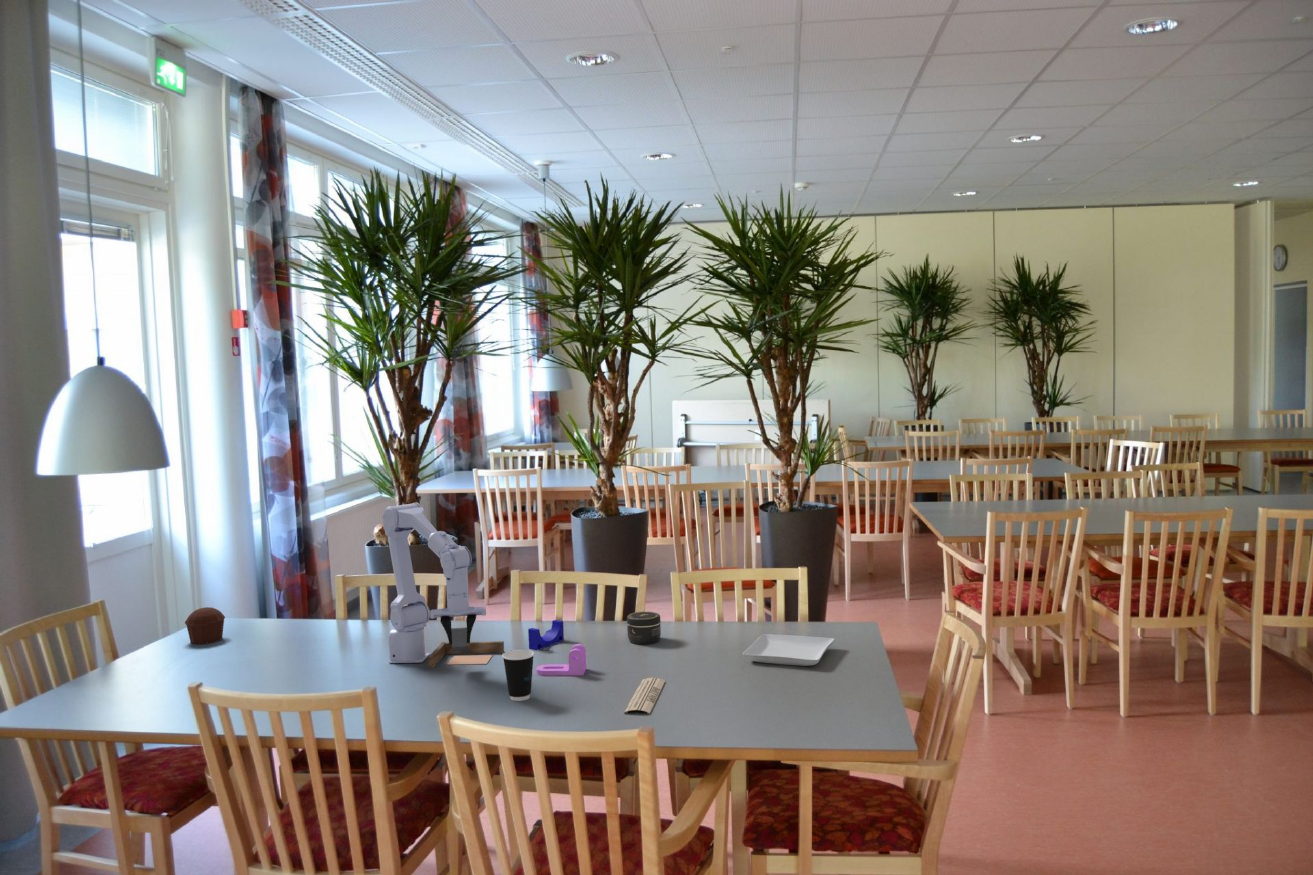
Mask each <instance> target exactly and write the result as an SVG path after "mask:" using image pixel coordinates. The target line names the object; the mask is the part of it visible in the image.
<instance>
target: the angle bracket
mask: <svg viewBox="0 0 1313 875" xmlns="http://www.w3.org/2000/svg"><path fill="white" fill-rule="evenodd" d="M451 634H452V652H455V651H468V647H469V643H467V626H466V627H465V626H464V627H454V628H453V627H451Z"/></svg>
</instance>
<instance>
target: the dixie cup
mask: <svg viewBox="0 0 1313 875" xmlns="http://www.w3.org/2000/svg"><path fill="white" fill-rule="evenodd" d="M534 656H535V651H534V650H532V649H513V650H509V651H504V652H503V653H502V655H501V657H502V659H503V665H504V672H505V678H506V685H507V692H508V695H509V698H510V699H509V700H512V701H513V702H522V701H526V700H529V699H530V698H531V693H532V685H533V684H532V682H533V680H532V679H533V670H534V669H533V666H534Z"/></svg>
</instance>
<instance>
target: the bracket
mask: <svg viewBox="0 0 1313 875" xmlns="http://www.w3.org/2000/svg"><path fill="white" fill-rule="evenodd" d="M586 652H587V650H586V647H585V646H584V645H583V644H581V643H577V644H574V645H573V646H572V648H571V650H570V652H569V653H568V663H567V664H566V663H565V664H562V663H561V664H559V663H558V664H557V663H556V664H541V665H538V666H537V667H536V668H535V671H536V675H538V676H542V677H543V676H545V677H547V676H550V677H551V676H554V677H555V676H584V674H585V673H586V670H587V654H586Z"/></svg>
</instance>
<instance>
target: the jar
mask: <svg viewBox="0 0 1313 875" xmlns="http://www.w3.org/2000/svg"><path fill="white" fill-rule="evenodd" d="M661 623H662V621H661V615H660V613H657V612H654V611H635V612H632V613H629V614H628V615H627V616H626V628H627V638H628V640H629V642H630V643H631V644H634V645H642V646H643V645H645V646H646V645H652V644H656V643H658V642H659V641H660V639H661V634H662V631H661V630H662V629H661V628H662V627H661Z"/></svg>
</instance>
